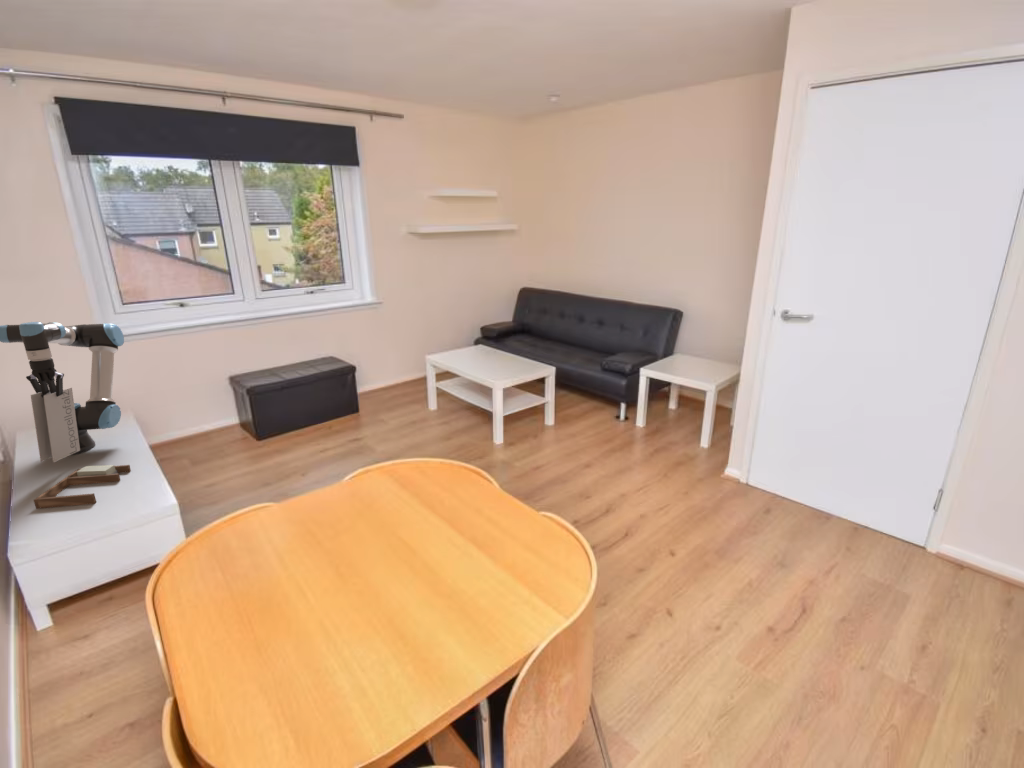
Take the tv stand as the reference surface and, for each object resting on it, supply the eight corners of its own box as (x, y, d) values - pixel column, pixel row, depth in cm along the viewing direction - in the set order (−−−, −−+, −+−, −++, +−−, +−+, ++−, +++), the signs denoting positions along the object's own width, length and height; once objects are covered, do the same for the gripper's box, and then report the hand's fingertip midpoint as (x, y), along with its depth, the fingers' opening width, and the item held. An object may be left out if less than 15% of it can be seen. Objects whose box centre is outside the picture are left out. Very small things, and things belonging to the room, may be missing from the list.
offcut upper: (87, 472, 225) (86, 466, 224) (115, 471, 226) (114, 465, 225) (78, 477, 219) (76, 471, 219) (107, 476, 220) (105, 470, 219)
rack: (80, 476, 226) (78, 468, 225) (131, 472, 230) (129, 464, 229) (36, 508, 199) (33, 499, 198) (94, 503, 203) (92, 494, 202)
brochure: (53, 462, 217) (44, 396, 210) (40, 461, 216) (30, 395, 209) (80, 450, 230) (71, 387, 223) (67, 449, 230) (59, 386, 223)
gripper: (15, 362, 206) (31, 415, 213) (53, 360, 209) (67, 413, 216) (28, 357, 213) (43, 409, 220) (64, 356, 216) (78, 407, 223)
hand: (55, 411), depth 218 cm, fingers closed
